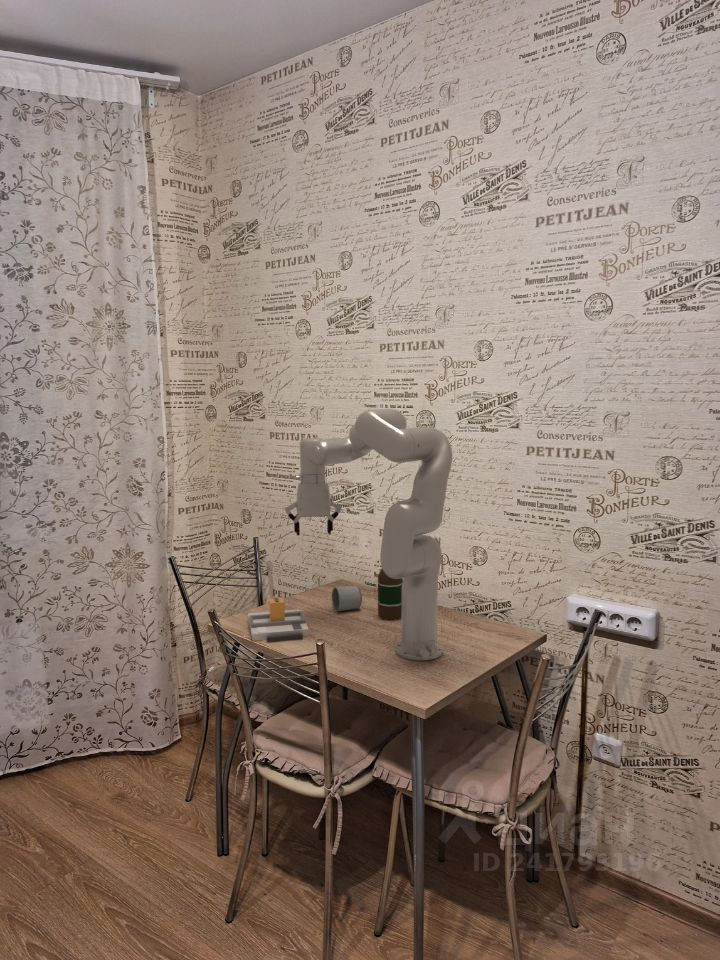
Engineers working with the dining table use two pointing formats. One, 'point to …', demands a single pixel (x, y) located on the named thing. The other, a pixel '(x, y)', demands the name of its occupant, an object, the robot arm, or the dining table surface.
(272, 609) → the orange upright block
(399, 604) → the beer bottle
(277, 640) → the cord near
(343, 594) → the ceramic mug
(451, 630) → the dining table surface
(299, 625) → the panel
